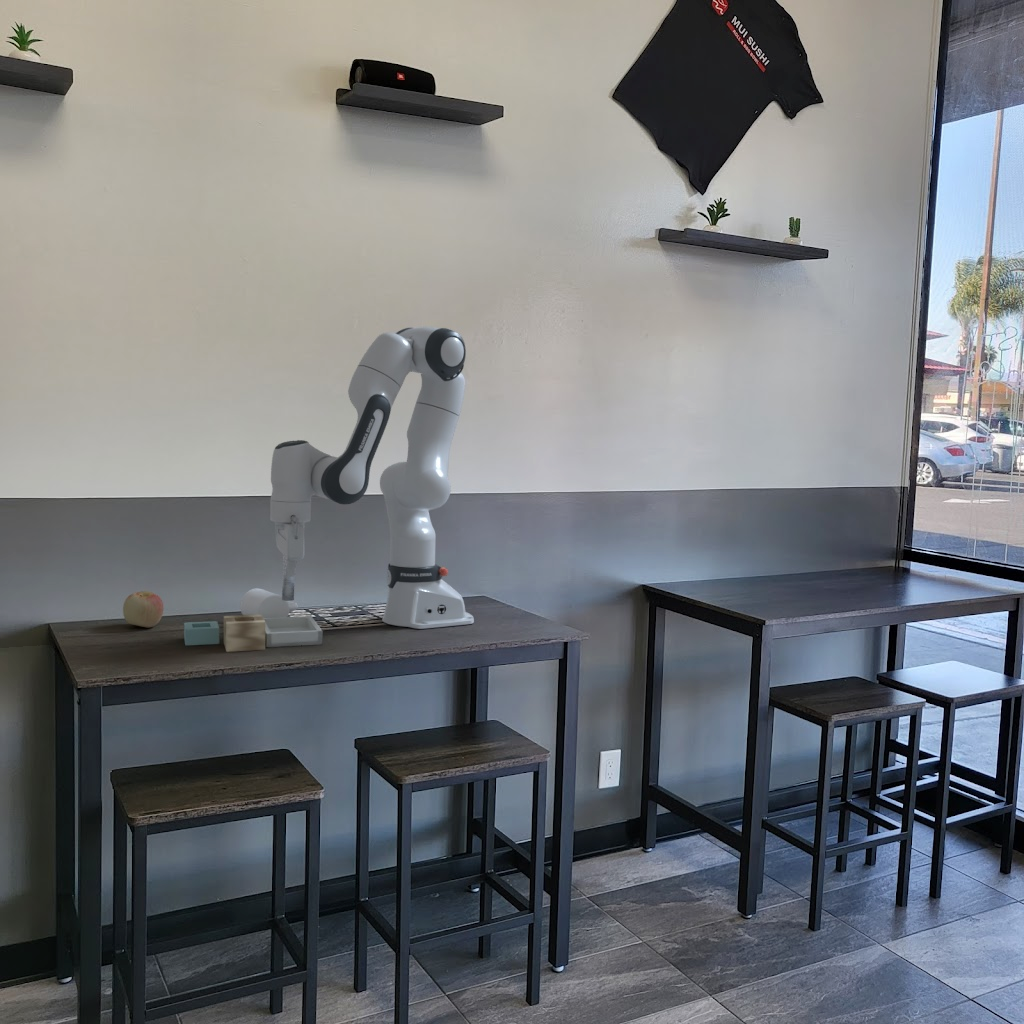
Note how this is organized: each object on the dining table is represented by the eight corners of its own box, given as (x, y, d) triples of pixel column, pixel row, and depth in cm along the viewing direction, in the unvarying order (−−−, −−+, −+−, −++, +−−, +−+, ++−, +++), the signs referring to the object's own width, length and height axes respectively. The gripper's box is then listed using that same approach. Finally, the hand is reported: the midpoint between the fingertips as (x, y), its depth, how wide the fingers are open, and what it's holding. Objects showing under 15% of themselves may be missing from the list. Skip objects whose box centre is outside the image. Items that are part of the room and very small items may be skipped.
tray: (311, 628, 234) (311, 616, 234) (322, 644, 219) (322, 631, 219) (258, 631, 230) (258, 618, 229) (266, 647, 215) (266, 633, 214)
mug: (258, 630, 231) (258, 596, 230) (239, 622, 239) (239, 589, 238) (304, 624, 239) (305, 591, 238) (285, 617, 246) (285, 585, 245)
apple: (146, 621, 236) (146, 588, 236) (171, 626, 232) (171, 592, 231) (114, 627, 229) (114, 593, 228) (140, 633, 224) (140, 598, 224)
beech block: (261, 641, 220) (261, 614, 220) (265, 649, 213) (265, 622, 212) (223, 642, 217) (223, 616, 217) (226, 651, 210) (226, 623, 209)
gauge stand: (216, 636, 223) (216, 621, 223) (219, 643, 217) (219, 627, 216) (184, 638, 221) (184, 622, 220) (185, 645, 214) (185, 629, 214)
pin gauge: (293, 598, 225) (295, 545, 224) (295, 600, 222) (297, 547, 221) (280, 598, 224) (281, 545, 223) (282, 601, 221) (283, 547, 220)
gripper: (312, 518, 213) (310, 582, 214) (298, 508, 232) (297, 567, 233) (282, 518, 211) (280, 583, 212) (270, 508, 230) (269, 567, 231)
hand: (289, 574), depth 223 cm, fingers closed on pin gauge, 3 cm apart
